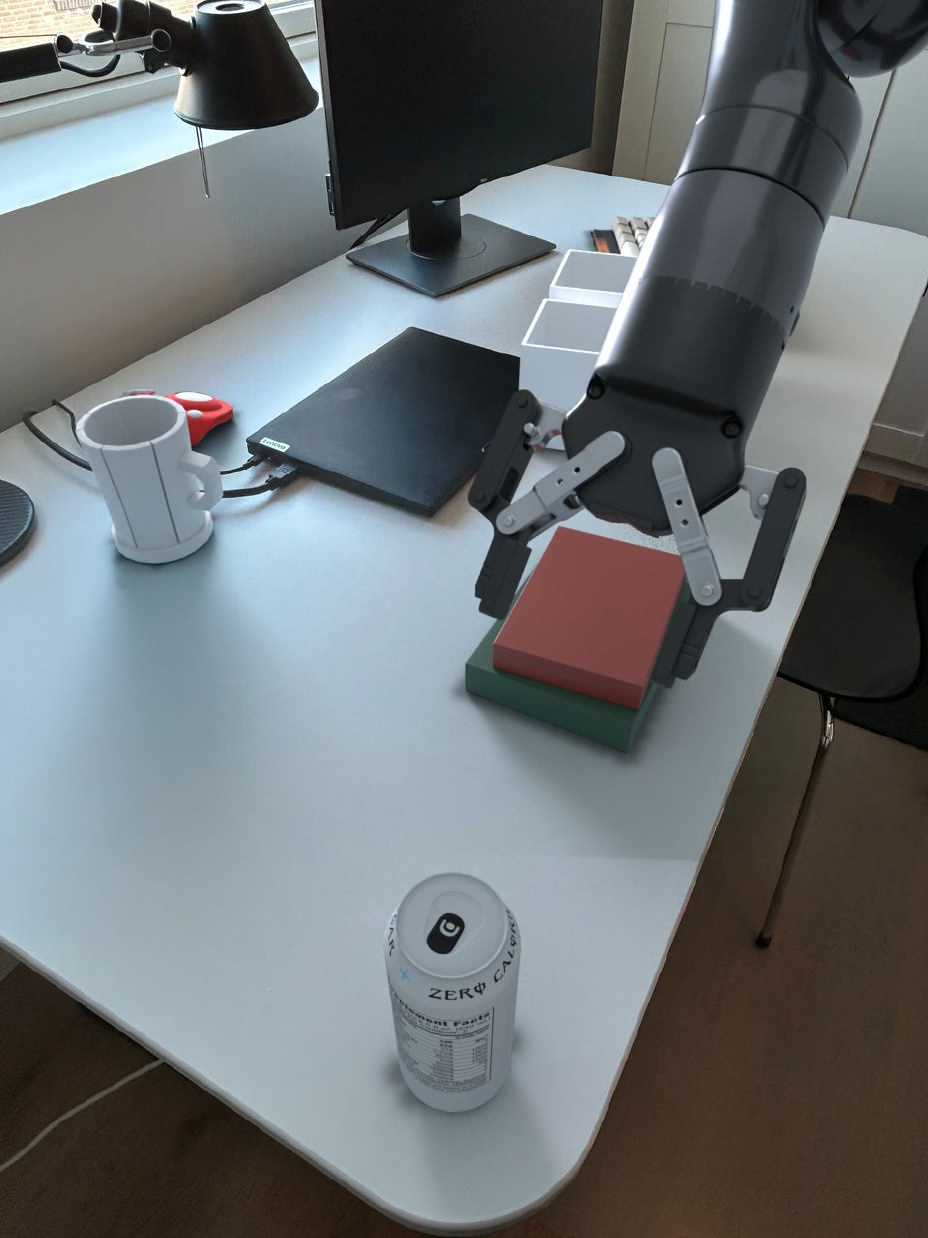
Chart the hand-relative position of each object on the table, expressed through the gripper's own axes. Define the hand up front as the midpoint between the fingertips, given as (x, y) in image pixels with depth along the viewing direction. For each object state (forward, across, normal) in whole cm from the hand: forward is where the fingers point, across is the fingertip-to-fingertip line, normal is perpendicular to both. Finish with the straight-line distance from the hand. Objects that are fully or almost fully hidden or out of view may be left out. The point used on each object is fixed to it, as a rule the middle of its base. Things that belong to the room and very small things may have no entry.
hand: (573, 649), depth 40 cm
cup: (+5, -46, +26) cm, 53 cm away
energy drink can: (+23, 0, +7) cm, 24 cm away
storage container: (-26, -24, +56) cm, 66 cm away
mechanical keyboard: (-50, -26, +81) cm, 98 cm away
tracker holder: (-6, -59, +37) cm, 70 cm away
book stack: (0, -7, +30) cm, 31 cm away
